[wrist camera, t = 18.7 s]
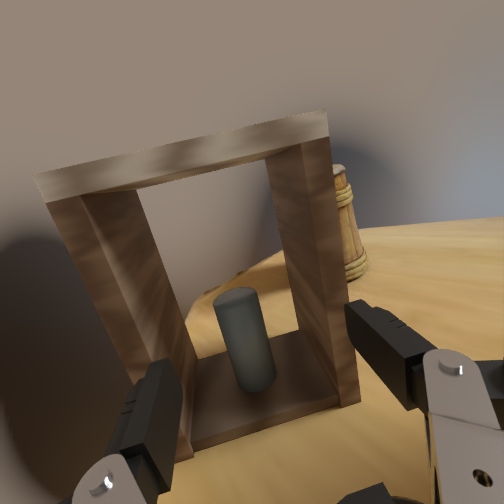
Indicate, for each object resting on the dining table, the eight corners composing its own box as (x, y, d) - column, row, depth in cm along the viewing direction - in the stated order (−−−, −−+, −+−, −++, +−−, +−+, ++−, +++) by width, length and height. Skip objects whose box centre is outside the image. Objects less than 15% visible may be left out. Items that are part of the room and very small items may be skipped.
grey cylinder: (263, 354, 37) (244, 283, 33) (284, 376, 32) (265, 296, 28) (230, 373, 35) (206, 299, 31) (248, 400, 30) (222, 317, 26)
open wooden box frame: (313, 330, 41) (279, 138, 32) (361, 401, 28) (325, 108, 19) (185, 369, 40) (110, 178, 30) (171, 464, 26) (31, 174, 17)
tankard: (374, 255, 64) (366, 155, 57) (353, 302, 46) (338, 167, 39) (309, 254, 75) (295, 171, 67) (272, 293, 57) (247, 185, 50)
